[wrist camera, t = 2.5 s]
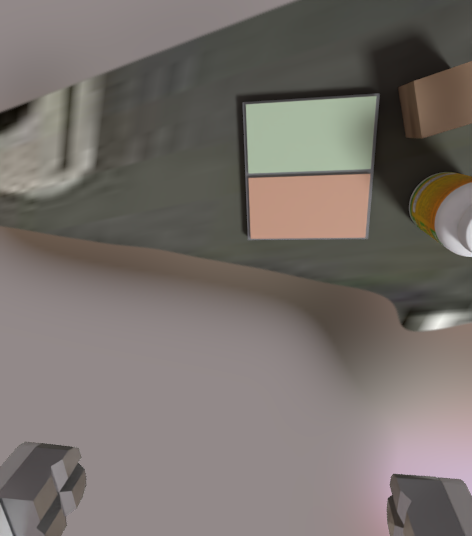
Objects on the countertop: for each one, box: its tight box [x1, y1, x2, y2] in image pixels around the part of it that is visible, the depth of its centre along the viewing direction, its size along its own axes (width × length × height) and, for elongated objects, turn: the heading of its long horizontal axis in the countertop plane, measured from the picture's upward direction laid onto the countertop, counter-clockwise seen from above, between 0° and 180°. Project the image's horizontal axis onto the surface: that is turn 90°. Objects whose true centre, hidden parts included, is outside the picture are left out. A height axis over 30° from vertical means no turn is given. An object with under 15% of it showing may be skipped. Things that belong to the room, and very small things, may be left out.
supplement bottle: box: [409, 172, 472, 257], centre depth 27 cm, size 5×5×10 cm
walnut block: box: [398, 61, 472, 138], centre depth 27 cm, size 4×4×4 cm
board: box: [243, 93, 380, 240], centre depth 32 cm, size 11×12×1 cm
